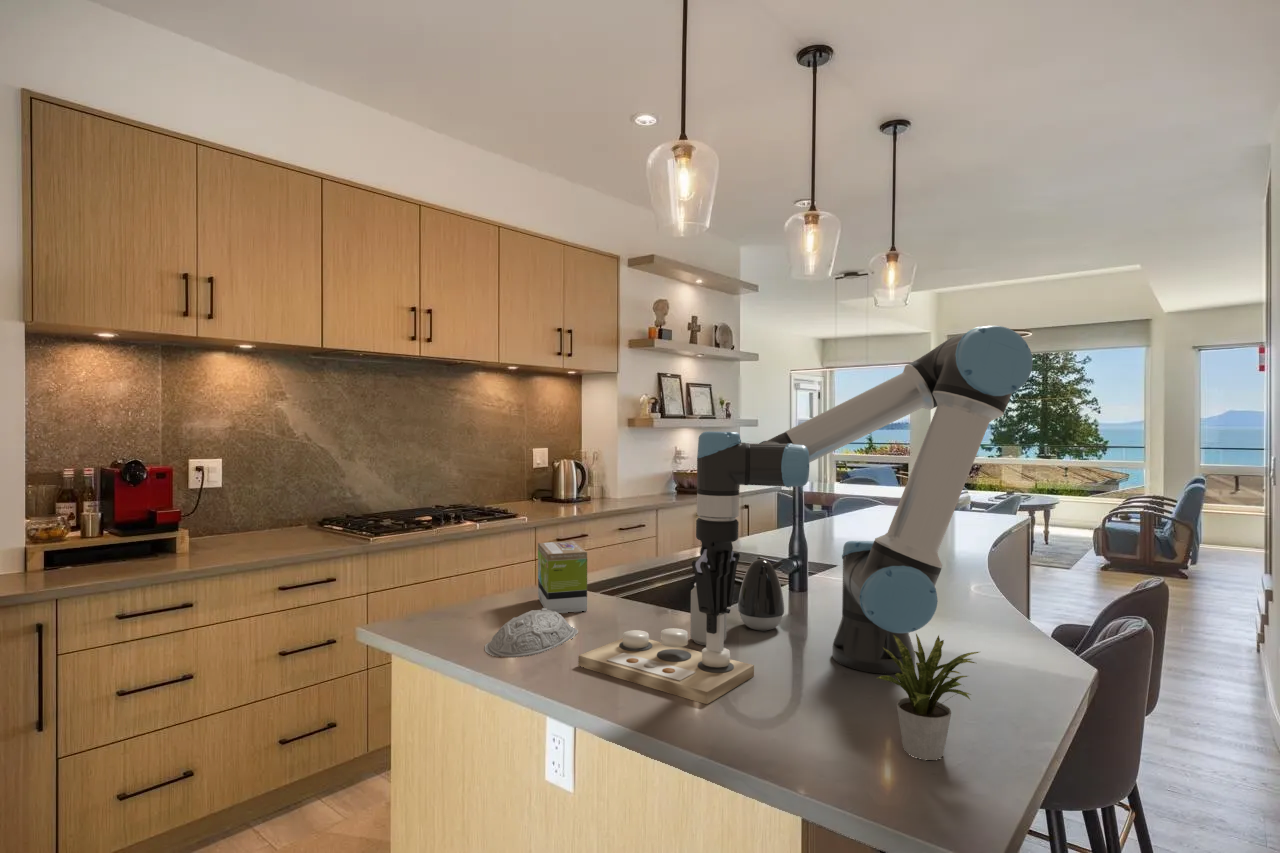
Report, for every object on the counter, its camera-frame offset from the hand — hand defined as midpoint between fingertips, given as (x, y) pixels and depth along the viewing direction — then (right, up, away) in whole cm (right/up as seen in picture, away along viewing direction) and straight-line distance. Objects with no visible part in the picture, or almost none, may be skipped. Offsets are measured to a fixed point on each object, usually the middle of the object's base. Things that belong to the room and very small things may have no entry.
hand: (714, 649), depth 124 cm
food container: (-36, -5, +21) cm, 42 cm away
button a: (0, -2, 0) cm, 2 cm away
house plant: (+26, -6, -29) cm, 39 cm away
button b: (-7, -1, +5) cm, 9 cm away
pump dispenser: (+14, -5, +31) cm, 34 cm away
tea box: (-33, -5, +48) cm, 58 cm away
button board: (-9, -5, +3) cm, 11 cm away
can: (+1, -5, +21) cm, 21 cm away
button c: (-14, -3, +11) cm, 18 cm away
